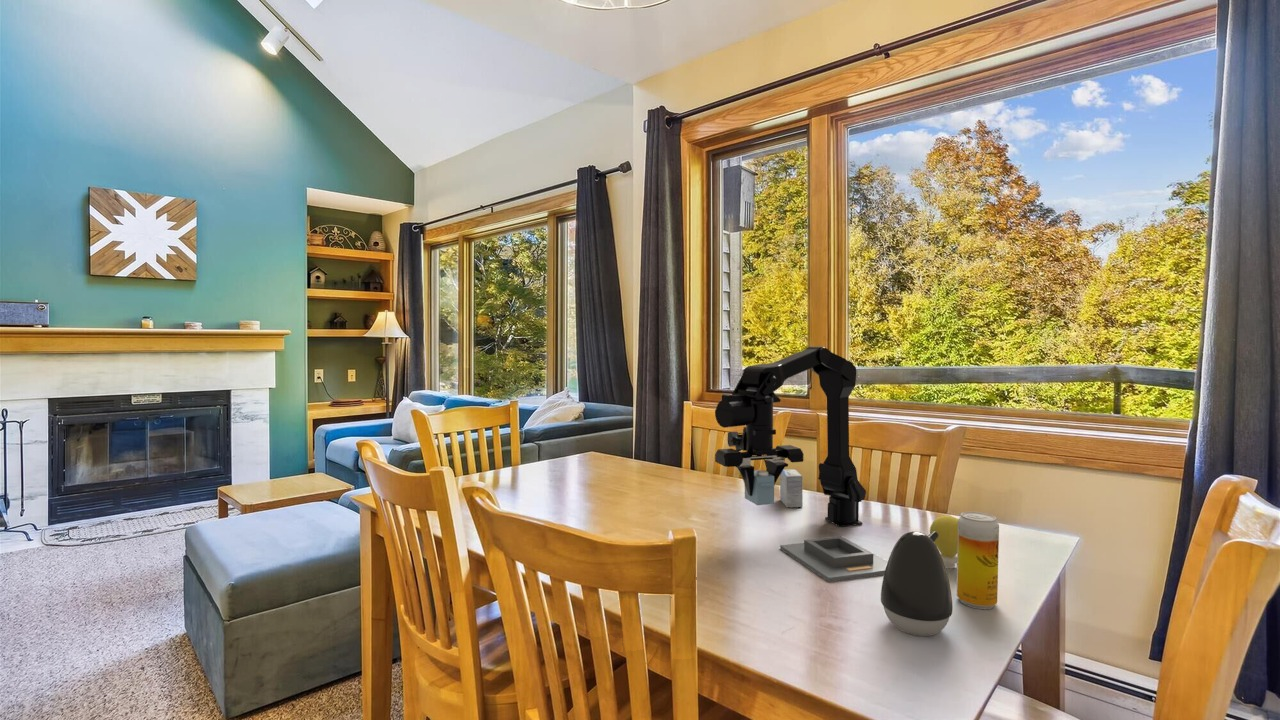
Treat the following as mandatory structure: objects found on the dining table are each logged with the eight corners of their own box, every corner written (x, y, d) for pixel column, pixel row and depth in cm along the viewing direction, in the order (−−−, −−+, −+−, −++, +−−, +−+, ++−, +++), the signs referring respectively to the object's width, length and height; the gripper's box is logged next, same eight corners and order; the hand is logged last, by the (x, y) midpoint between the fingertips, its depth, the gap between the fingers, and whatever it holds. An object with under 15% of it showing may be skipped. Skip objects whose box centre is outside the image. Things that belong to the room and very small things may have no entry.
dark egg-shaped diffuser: (966, 632, 93) (968, 535, 92) (927, 651, 87) (929, 548, 86) (905, 607, 101) (907, 518, 100) (866, 623, 95) (867, 529, 95)
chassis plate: (844, 541, 133) (845, 529, 133) (901, 572, 116) (901, 558, 116) (780, 548, 129) (780, 536, 129) (828, 582, 111) (828, 567, 111)
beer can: (996, 614, 99) (998, 523, 98) (955, 605, 102) (956, 517, 101) (997, 600, 104) (999, 514, 103) (957, 592, 107) (959, 508, 106)
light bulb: (965, 563, 121) (967, 513, 120) (968, 575, 114) (969, 523, 114) (928, 557, 123) (929, 509, 123) (929, 569, 117) (930, 518, 117)
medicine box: (802, 508, 159) (803, 475, 159) (785, 508, 159) (786, 475, 159) (795, 500, 167) (796, 469, 167) (779, 500, 167) (779, 469, 167)
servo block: (758, 495, 136) (758, 465, 136) (776, 505, 128) (777, 473, 128) (742, 496, 135) (742, 466, 135) (759, 506, 127) (760, 474, 126)
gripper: (779, 417, 141) (779, 483, 142) (705, 420, 136) (705, 488, 136) (805, 423, 130) (804, 495, 131) (725, 427, 125) (725, 501, 126)
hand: (759, 494), depth 131 cm, fingers closed on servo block, 4 cm apart
